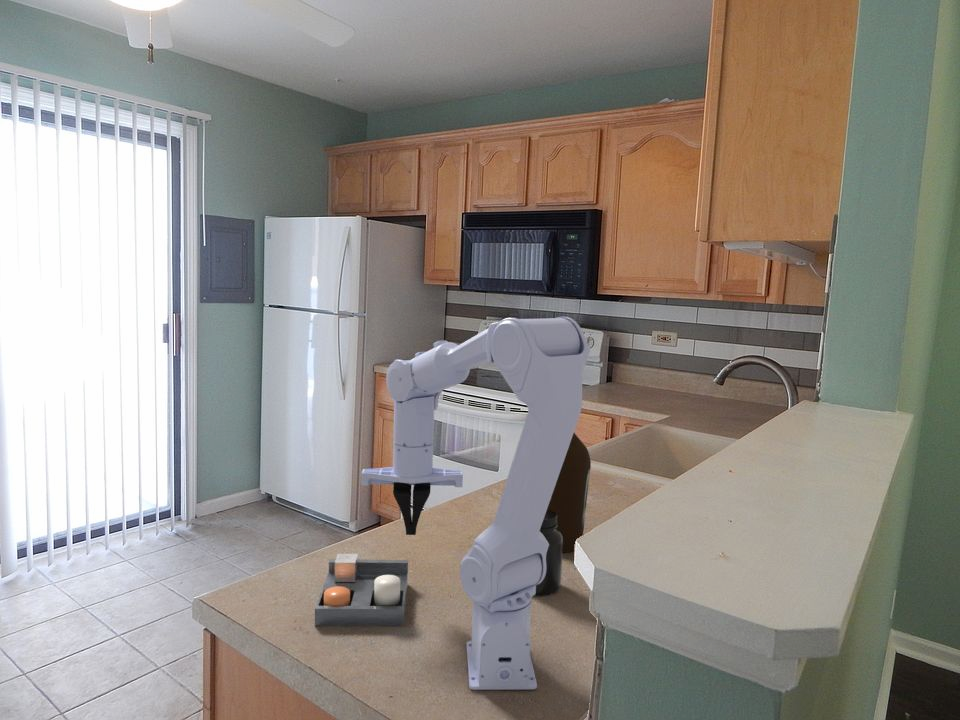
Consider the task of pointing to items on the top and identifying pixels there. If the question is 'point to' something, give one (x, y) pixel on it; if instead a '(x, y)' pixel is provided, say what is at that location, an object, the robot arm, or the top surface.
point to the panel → (364, 596)
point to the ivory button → (387, 590)
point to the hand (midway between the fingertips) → (411, 532)
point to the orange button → (337, 596)
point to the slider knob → (346, 567)
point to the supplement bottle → (551, 556)
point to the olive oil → (572, 493)
